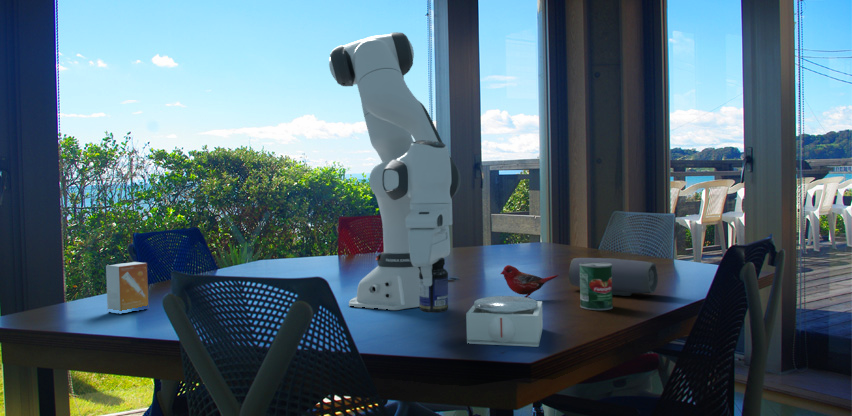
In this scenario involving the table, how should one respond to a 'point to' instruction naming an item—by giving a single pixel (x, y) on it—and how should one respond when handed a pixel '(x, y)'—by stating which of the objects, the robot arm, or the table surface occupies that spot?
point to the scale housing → (505, 327)
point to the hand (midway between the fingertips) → (432, 282)
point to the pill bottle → (435, 290)
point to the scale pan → (506, 304)
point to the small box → (127, 285)
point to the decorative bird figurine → (523, 281)
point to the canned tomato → (596, 285)
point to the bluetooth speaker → (622, 275)
